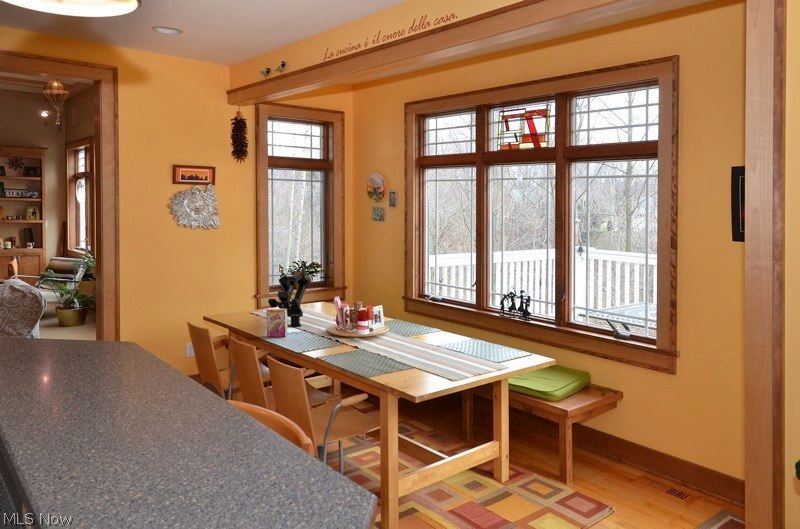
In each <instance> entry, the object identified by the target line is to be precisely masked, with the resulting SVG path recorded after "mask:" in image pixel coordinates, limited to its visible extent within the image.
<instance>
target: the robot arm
mask: <svg viewBox="0 0 800 529" xmlns="http://www.w3.org/2000/svg"><path fill="white" fill-rule="evenodd" d="M278 283H279V285H280V287H281V289H283V290H278V291H277V298H278V300H277V299H276V298H269V299H268V301H267V303H268V305H269V306H270V308H278V309H287V318H288V317H289V318H290V324H289V327H291V328H294V327H295V328H296V327H302V324H301V317H303V315H304V314H303V313H304V312H303V310H302V307H301V303H302V300H303V297H304V294H305V291H306V289H308V288H309V287H310V285H311V284H312V278H311V277H310V275H309V274H307V273H306V272H305V271H304V270H298V271H296V272H295V273H293V274H292V275H287V274H283V275H282V276H281V277H280V278H279V279H278ZM296 285H298V286H297V290H296V291H295V295H294V298H292V294H293V293H294V287H295V286H296ZM293 286H294V287H293Z"/></svg>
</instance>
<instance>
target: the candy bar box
mask: <svg viewBox="0 0 800 529" xmlns="http://www.w3.org/2000/svg"><path fill="white" fill-rule="evenodd" d="M288 334H289V333H288V316H287V309H280V308H268V309H266V336H267V338H286V337H288Z"/></svg>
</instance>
